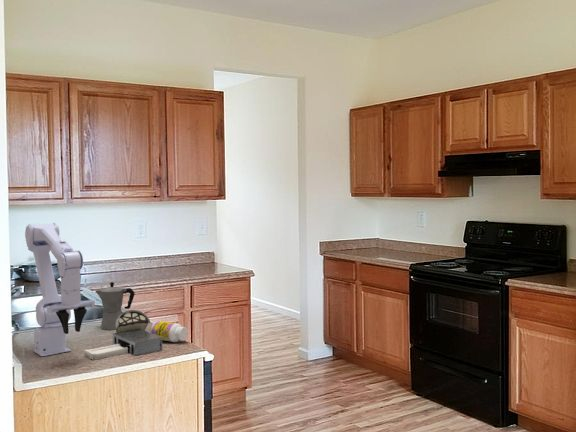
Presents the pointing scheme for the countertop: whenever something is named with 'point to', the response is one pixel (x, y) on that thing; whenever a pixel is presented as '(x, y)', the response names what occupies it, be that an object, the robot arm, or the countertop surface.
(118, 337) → the shelf
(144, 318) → the food container
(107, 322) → the coffeepot
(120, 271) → the countertop surface
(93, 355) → the tray
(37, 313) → the robot arm
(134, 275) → the countertop surface
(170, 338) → the supplement bottle
